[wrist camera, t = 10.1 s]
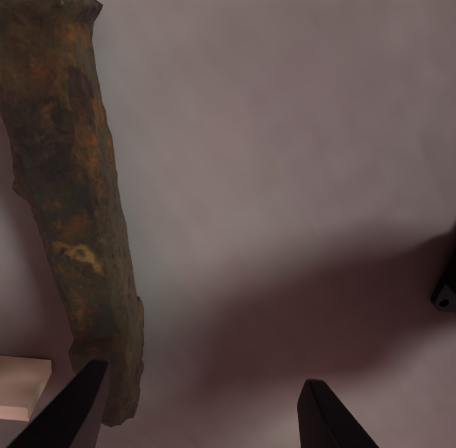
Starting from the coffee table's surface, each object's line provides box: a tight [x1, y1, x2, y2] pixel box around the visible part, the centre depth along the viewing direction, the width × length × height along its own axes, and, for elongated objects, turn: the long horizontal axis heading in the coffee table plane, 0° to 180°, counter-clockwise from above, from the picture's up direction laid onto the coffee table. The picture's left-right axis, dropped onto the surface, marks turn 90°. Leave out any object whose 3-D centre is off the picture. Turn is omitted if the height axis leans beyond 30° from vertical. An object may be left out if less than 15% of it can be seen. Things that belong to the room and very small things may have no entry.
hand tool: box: [0, 0, 144, 427], centre depth 15 cm, size 19×4×5 cm, turn 1°
